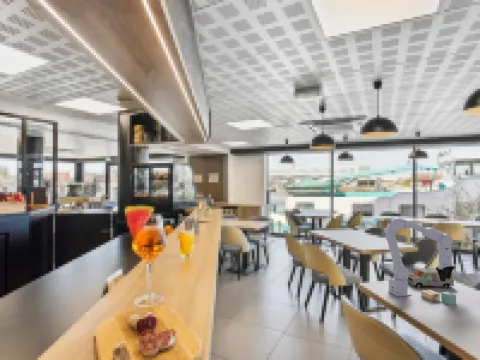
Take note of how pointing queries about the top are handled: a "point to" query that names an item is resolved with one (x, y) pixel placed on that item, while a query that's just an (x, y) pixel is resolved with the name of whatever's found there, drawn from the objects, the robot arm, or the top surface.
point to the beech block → (430, 295)
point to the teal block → (448, 298)
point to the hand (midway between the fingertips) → (445, 279)
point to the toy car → (428, 278)
